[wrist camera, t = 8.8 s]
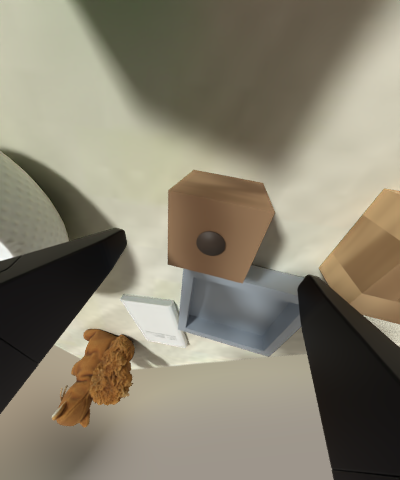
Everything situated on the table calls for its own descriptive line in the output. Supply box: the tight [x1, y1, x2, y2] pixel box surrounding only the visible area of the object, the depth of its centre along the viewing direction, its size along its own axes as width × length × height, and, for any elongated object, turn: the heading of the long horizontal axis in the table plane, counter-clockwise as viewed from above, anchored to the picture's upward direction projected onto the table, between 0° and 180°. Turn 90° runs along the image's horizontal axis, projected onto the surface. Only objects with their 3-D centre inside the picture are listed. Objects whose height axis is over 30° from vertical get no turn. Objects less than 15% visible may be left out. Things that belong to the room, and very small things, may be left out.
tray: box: [178, 265, 304, 357], centre depth 18 cm, size 12×12×2 cm
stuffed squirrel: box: [52, 329, 135, 427], centre depth 30 cm, size 10×14×13 cm
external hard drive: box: [120, 294, 188, 348], centre depth 26 cm, size 2×8×12 cm
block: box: [168, 170, 275, 284], centre depth 11 cm, size 5×5×5 cm
